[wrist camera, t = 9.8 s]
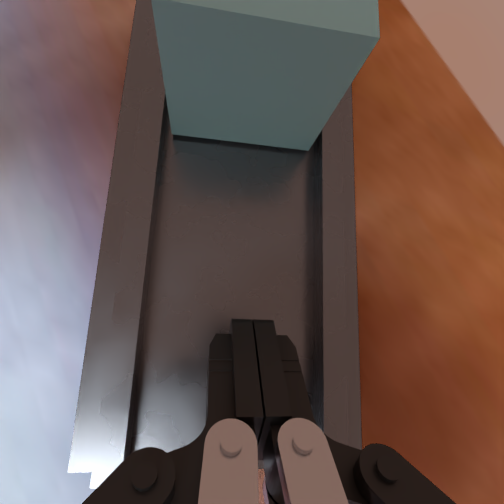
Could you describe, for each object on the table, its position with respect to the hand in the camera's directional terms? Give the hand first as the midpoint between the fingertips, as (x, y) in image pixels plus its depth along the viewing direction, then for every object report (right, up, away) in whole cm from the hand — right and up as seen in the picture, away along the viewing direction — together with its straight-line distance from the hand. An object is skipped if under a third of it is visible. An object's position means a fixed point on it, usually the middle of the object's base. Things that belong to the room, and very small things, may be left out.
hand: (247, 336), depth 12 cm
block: (0, +12, +8) cm, 15 cm away
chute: (-1, +6, +7) cm, 10 cm away
